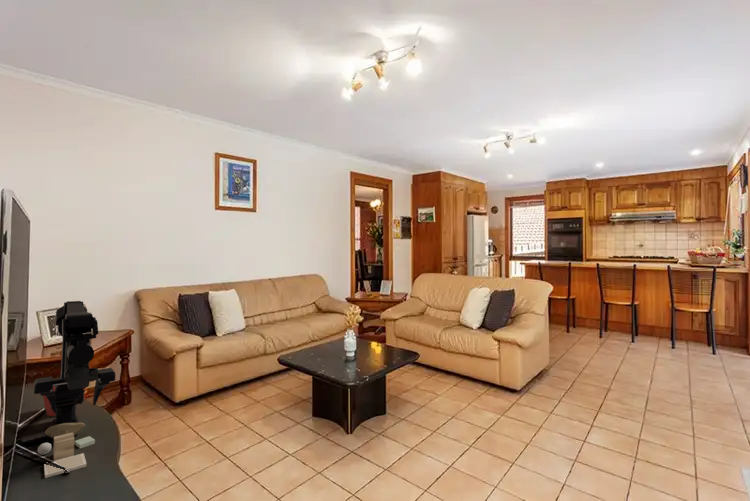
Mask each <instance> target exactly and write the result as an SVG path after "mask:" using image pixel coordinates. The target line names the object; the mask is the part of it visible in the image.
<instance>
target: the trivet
mask: <svg viewBox="0 0 750 501" xmlns="http://www.w3.org/2000/svg"><path fill="white" fill-rule="evenodd" d="M53 461H54V460H53ZM54 462H56V463H57V464H59V465H61V466H63V467H65V468H66V469H65V470H68V471H69V472H72V471H76V470H79V469H82V468H85V467H87V460H86V457H85V453H84V452H82V453H80V454H79V453H78V454H76V455H75V454H74V456H71V457H67V458H63V459H60V460H56V461H54ZM65 470H63V469H60V468H56V467H53V466H50V465H46V464H43V471H44V478H45V479H47V478H51V477H54V476H58V475H61V474H64V471H65Z"/></svg>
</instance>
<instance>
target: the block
mask: <svg viewBox="0 0 750 501" xmlns="http://www.w3.org/2000/svg"><path fill="white" fill-rule="evenodd" d="M75 441H76V440H75V435H74V434H73V433H69V434H65V435H61V436H56V437H54V439H53V454H52V455H53V461H56V460H60V459H63V458H67V457H71V456H75Z"/></svg>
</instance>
